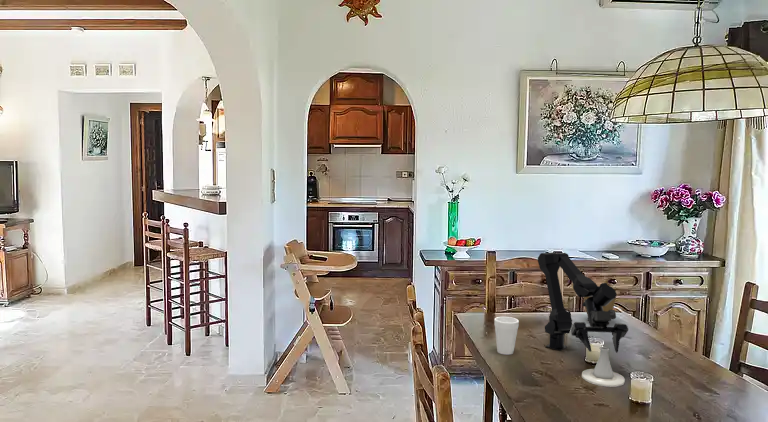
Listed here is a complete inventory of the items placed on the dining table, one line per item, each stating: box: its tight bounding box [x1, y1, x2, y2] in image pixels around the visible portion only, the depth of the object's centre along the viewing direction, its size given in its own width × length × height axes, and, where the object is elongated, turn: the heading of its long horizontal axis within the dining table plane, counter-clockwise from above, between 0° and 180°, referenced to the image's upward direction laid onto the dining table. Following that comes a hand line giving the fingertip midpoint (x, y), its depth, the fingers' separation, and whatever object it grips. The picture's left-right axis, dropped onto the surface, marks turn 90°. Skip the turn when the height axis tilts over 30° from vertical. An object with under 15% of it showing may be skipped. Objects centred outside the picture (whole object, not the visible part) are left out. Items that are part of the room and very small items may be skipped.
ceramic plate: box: [581, 368, 626, 388], centre depth 199 cm, size 14×14×1 cm
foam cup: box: [493, 316, 520, 356], centre depth 225 cm, size 10×9×13 cm
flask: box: [592, 346, 614, 379], centre depth 199 cm, size 7×7×10 cm
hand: (603, 351), depth 199 cm, fingers open, 9 cm apart
